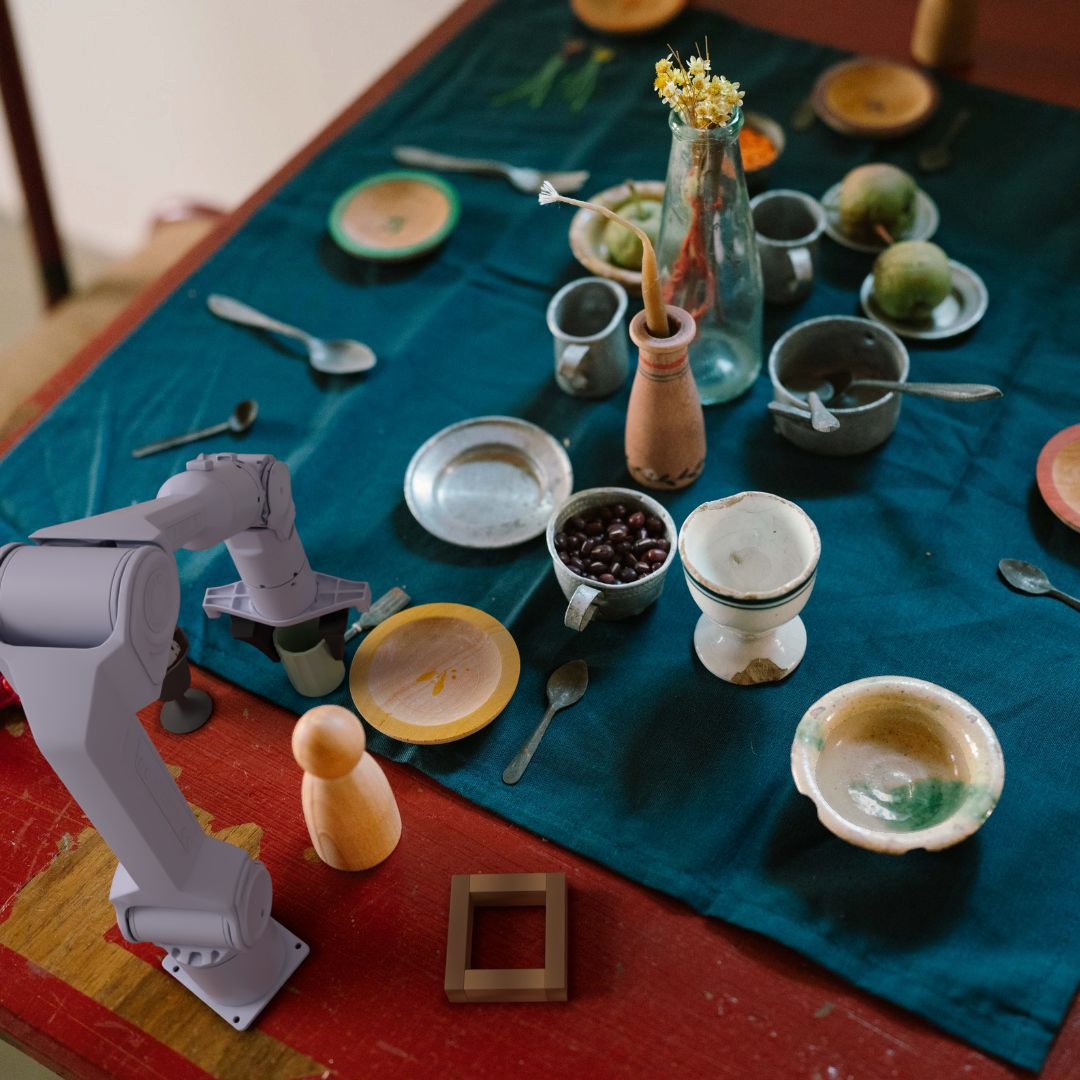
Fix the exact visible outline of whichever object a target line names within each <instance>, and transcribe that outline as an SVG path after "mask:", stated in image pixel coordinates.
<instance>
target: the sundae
mask: <svg viewBox="0 0 1080 1080" xmlns="http://www.w3.org/2000/svg"><path fill="white" fill-rule="evenodd" d="M189 652H190V641H189V638H188V636H187V634H186V632H185V630H184V629H183V628H182V627H181V626H180V625H178V624H177V623H176V626H175V630H174V635H173V640H172V645H171V650H170V655H169V660H168V665H167V671H166V675H165V678H164V679H163V683H162V689H161V694H160V697H159V699H158V700H157V701H158V702H161V703H164V704H163V706H162V707H161V710H160V716H159V719H160V723H161V725H162V727H163V728H164V729H165V730H167V731H168V732H170V733H173V734H178V735H179V734H180V735H181V734H188V733H191V732H193V731H195V730H197V729H199V728H200V727H202V726H203V725H204V724H205V723H206V722H207V721H208V719H209V718H210V716H211V713H212V710H213V701H212V698H211V696H210V695H209V694H208V693H207V692H206V691H204V690H202V689H198V688H190V687H191V685H192V676H191V669H190V665H189V662H188V659H187V656H188V654H189Z"/></svg>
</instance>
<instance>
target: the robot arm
mask: <svg viewBox="0 0 1080 1080" xmlns="http://www.w3.org/2000/svg"><path fill="white" fill-rule="evenodd" d="M185 465H186V466H185V467H186V470H185V471H182V472H179V473H177V474H174V475H173V476H171V477H170V478H168V479H167V480H166V481H164V482H163V484H162V485H161V487H160V488H159V490H158V492H157V494H156V498H154V499H150V500H146V501H144V502H139V503H136V504H133V505H129V506H126V507H122V508H118V509H114V510H111V511H108V512H104V513H100V514H96V515H93V516H89V517H85V518H80V519H76V520H72V521H68V522H64V523H59V524H55V525H52V526H47V527H42V528H40V529H37V530H35V532H33V533H31V534H30V535H28V538H27V539H29V540H30V541H33V542H34V543H35V544H36V545H31V544H28V543H26V542H10V543H6V544H3V546H1V547H0V673H1V674H2V676H3V677H4V679H5V680H6V681H7V683H8V685H9V686H10V687H11V688H12V690H13V691H14V692H15V694H16V695H17V696H18V697H19V699H20V702H21V705H22V709H23V711H24V715H25V717H26V719H27V722H28V726H29V728H30V731H31V734H32V737H33V740H34V741H35V744H36V746H37V748H38V749H39V751H40V753H41V754H42V756H43V757H44V758H45V760H46V761H47V762H48V764H49V765H50V766H51V768H52V770H53V771H54V773H55V774H56V775H57V777H58V778H59V779H60V780H61V782H62V783H63V785H64V787H65V788H66V789H67V791H68V792H69V793H70V795H71V796H72V797H73V799H74V800H75V802H76V803H77V804H78V805H79V807H80V809H81V810H82V811H83V813H84V814H85V815H86V817H87V818H88V820H89V821H90V822H91V824H92V825H93V827H94V828H95V829H96V831H97V832H98V833H99V835H100V836H101V838H102V840H103V841H104V842H105V843H106V845H107V846H108V848H109V849H110V851H111V852H112V853H113V855H114V856H115V857H116V858H117V860H118V864H117V866H116V868H115V872H114V874H113V877H112V881H111V885H110V889H109V895H108V900H109V901H110V903H111V904H112V905H113V907H114V909H115V917H116V922H117V923H116V924H117V926H118V928H119V930H120V933H121V935H122V937H123V938H124V940H125V941H127V942H128V943H131V944H140V943H141V944H142V943H152V944H153V945H154V946H155V947H160V948H162V949H164V950H165V951H166V952H167V953H168V954H167V955H166V956H165V957H164V958H163V960H162V961H161V965H162V967H163V969H164V970H166V971H167V972H168V973H169V974H170V975H171V976H173V977H174V978H175V979H176V980H177V981H179V983H181V984H182V985H183V986H184V987H186V988H187V989H188V990H189V991H191V992H192V993H193V994H194V995H195V996H196V997H198V998H199V999H200V1000H201V1001H202V1002H204V1004H206V1005H207V1006H208V1007H209V1008H210V1009H212V1010H213V1011H214V1012H215V1013H216V1014H218V1015H219V1016H220V1017H221V1018H222V1019H224V1020H225V1021H226V1022H227V1023H228V1024H230V1025H231V1026H232V1027H233V1028H234V1029H235V1030H237V1031H238V1032H244V1031H246V1030H247V1029H248V1028H249V1027H250V1025H251V1024H252V1023H253V1022H254V1021H255V1019H256V1018H257V1017H258V1016H259V1015H260V1013H261V1012H262V1011H263V1010H264V1008H265V1007H266V1006H267V1005H268V1004H269V1003H270V1001H271V1000H272V999H273V998H274V996H275V995H276V994H277V993H278V992H279V990H280V989H281V988H282V987H283V985H284V984H285V983H286V982H287V981H288V980H289V979H290V977H291V976H292V975H293V973H294V972H295V971H296V970H297V969H298V968H299V966H300V965H301V964H302V963H303V961H304V960H305V959H306V958H307V957H308V955H309V954H310V950H311V949H310V947H309V945H308V944H307V943H305V942H304V941H303V940H301V939H300V938H299V937H298V936H296V935H295V934H294V933H292V932H291V931H290V930H289V929H287V928H286V927H285V926H284V925H282V923H280V922H278V921H277V920H275V919H274V918H273V917H272V916H271V913H272V906H273V882H272V877H271V874H270V872H269V870H268V869H267V866H266V865H265V863H264V862H263V861H262V860H260V859H253V858H252V857H251V856H250V854H249V852H248V850H246V849H244V848H242V847H240V846H237V845H235V844H232V843H230V842H226V841H224V840H221V839H218V838H215V837H214V836H211V835H209V834H207V833H206V832H205V830H204V828H203V826H202V825H201V824H200V821H199V820H198V818H197V816H196V815H195V813H194V810H192V807H191V806H190V804H189V802H188V801H187V799H186V797H185V795H184V794H183V792H182V790H181V789H180V787H179V785H178V783H177V782H176V780H175V778H174V777H173V775H172V773H171V772H170V770H169V768H168V766H167V765H166V763H165V761H164V759H163V758H162V756H161V754H160V753H159V751H158V750H157V748H156V746H155V744H154V743H153V741H152V739H151V737H150V736H149V734H148V732H147V730H146V728H145V727H144V725H143V723H142V722H141V720H140V718H139V717H138V715H137V712H140V711H141V710H143V709H144V708H146V707H148V706H149V705H151V704H153V703H154V702H156V701H158V699H159V697H160V694H161V689H162V683H163V679H164V678H165V675H166V671H167V665H168V660H169V655H170V650H171V645H172V640H173V635H174V630H175V626H176V624H177V622H178V619H179V614H180V607H181V586H180V579H179V572H178V565H177V561H176V560H177V559H176V557H175V552H177V551H178V550H180V549H181V548H182V549H184V550H188V551H193V552H194V551H195V552H197V551H198V552H199V551H205V550H209V549H211V548H214V547H215V546H217V545H219V544H222V543H224V544H225V546H226V549H227V550H228V552H229V555H230V557H231V559H232V561H233V564H234V566H235V567H236V570H237V572H238V574H239V577H240V578H241V580H239V581H235V582H233V583H228V584H225V585H222V586H217V587H207V588H206V590H205V595H204V598H203V601H202V608H203V610H204V611H205V613H206V615H207V617H208V619H219V618H221V616H222V614H223V613H225V614H228V615H229V617H230V621H231V623H230V627H229V633H230V635H231V637H232V638H233V639H234V640H237V641H240V642H244V643H246V644H249V645H251V646H252V647H254V648H256V650H258V651H260V652H261V653H262V654H263V655H265V657H267V658H268V659H269V660H270V661H271V662H272V663H274V664H279V663H282V661H281V659H280V657H279V655H278V652H277V650H276V648H275V646H274V642H273V632H274V629H275V627H276V626H277V627H284V626H290V625H294V624H297V623H300V622H303V621H306V620H310V619H313V618H316V617H319V616H320V620H319V626H318V635H319V636H321V637H322V638H323V639H324V640H325V641H326V642H327V644H328V645H329V648H330V651H331V654H332V656H333V658H334V660H335V661H342V660H343V661H344V657H345V650H346V639H345V635H346V631H347V628H348V622H349V615H350V609H351V608H356V610H357V613H359V614H360V613H361V614H362V613H370V612H371V605H372V598H373V597H372V596H373V594H372V591H371V587H370V584H369V582H368V581H356V580H355V581H354V580H350V579H345V578H341V577H338V576H333V575H329V574H326V573H322V572H319V571H315V570H313V569H312V567H311V565H310V563H309V560H308V558H307V555H306V554H307V553H306V551H305V549H304V546H303V543H302V540H301V539H300V536H299V533H298V530H297V528H296V527H297V526H296V525H295V518H296V510H295V509H296V506H295V503H294V500H293V497H292V481H291V474H290V469H289V466H288V463H287V462H283V461H282V460H277V458H276V457H275V456H274V455H273V454H270V453H254V454H253V453H235V452H220V453H211V454H204V453H203V452H201V453H199V455H198V456H197V457H196V459H192V460H189V461H187V462H186V463H185ZM224 541H225V542H224ZM298 946H300V948H297V947H298ZM178 968H179V969H178ZM177 969H178V970H177ZM176 970H177V971H176ZM237 1019H239V1021H238V1022H236V1020H237Z"/></svg>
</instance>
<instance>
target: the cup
mask: <svg viewBox="0 0 1080 1080" xmlns="http://www.w3.org/2000/svg"><path fill="white" fill-rule="evenodd" d="M319 620H320V616H319V617H316V618H313V619H310V620H306V621H303V622H300V623H297V624H294V625H290V626H284V627H277V626H276V627H275V629H274V632H273V642H274V646H275V648H276V650H277V652H278V655H279V657H280V659H281V663H282V665H283V668H284V670H285V672H286V674H287V677H288V680H289V681H290V683H291V685H292V687H293V688H294V689H295V690H296V692H298V693H299V694H301V695H302V696H305V697H308V698H309V697H310V698H318V697H323V696H326V695H328V694H330V693H332V692H333V691H335V690H337V688H338V687H339V686H340V685H341V683H343V680H344V678H345V675H346V666H345V663H344V659H343V660H342V661H335V660H334V658H333V656H332V654H331V651H330V648H329V645H328V644H327V642H326V641H325V640H324V639H323V638H322V637H321V636H319V635H318V626H319Z"/></svg>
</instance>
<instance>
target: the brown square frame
mask: <svg viewBox="0 0 1080 1080" xmlns="http://www.w3.org/2000/svg"><path fill="white" fill-rule="evenodd" d="M567 882H568V881H567V876H566V872H534V873H533V872H530V873H529V872H527V873H525V872H524V873H522V872H521V873H480V874H479V873H475V874H452V875H451V885H450V886H451V887H450V901H449V914H448V929H447V944H446V960H445V973H444V974H445V975H444V988H443V989H444V991H445V994H446V996H447V999H448V1002H449V1003H529V1002H531V1003H532V1002H533V1003H534V1002H535V1003H536V1002H537V1003H538V1002H568V883H567ZM526 906H528V907H532V906H534V907H535V906H538V907H539V906H545V955H544V958H545V959H544V960H545V962H544V963H545V965H544V967H545V968H501V969H500V968H499V969H497V968H494V969H492V968H490V969H471V968H472V967H471V966H472V948H473V947H472V946H473V933H474V932H473V930H474V929H473V928H474V910H475V908H477V907H526Z"/></svg>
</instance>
